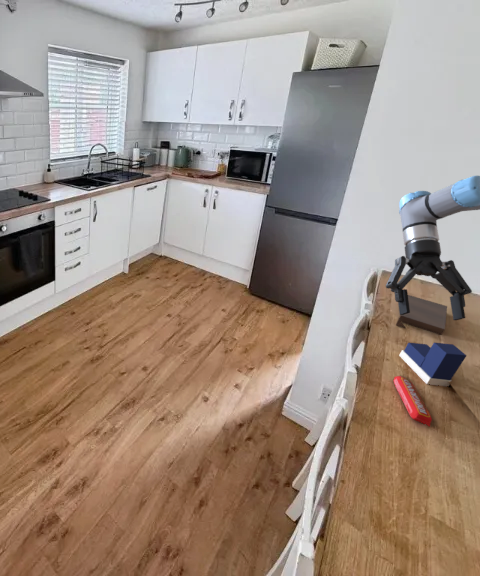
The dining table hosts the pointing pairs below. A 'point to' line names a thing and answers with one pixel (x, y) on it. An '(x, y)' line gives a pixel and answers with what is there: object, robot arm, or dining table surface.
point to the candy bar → (412, 400)
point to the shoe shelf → (424, 315)
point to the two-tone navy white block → (433, 361)
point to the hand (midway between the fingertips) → (431, 316)
